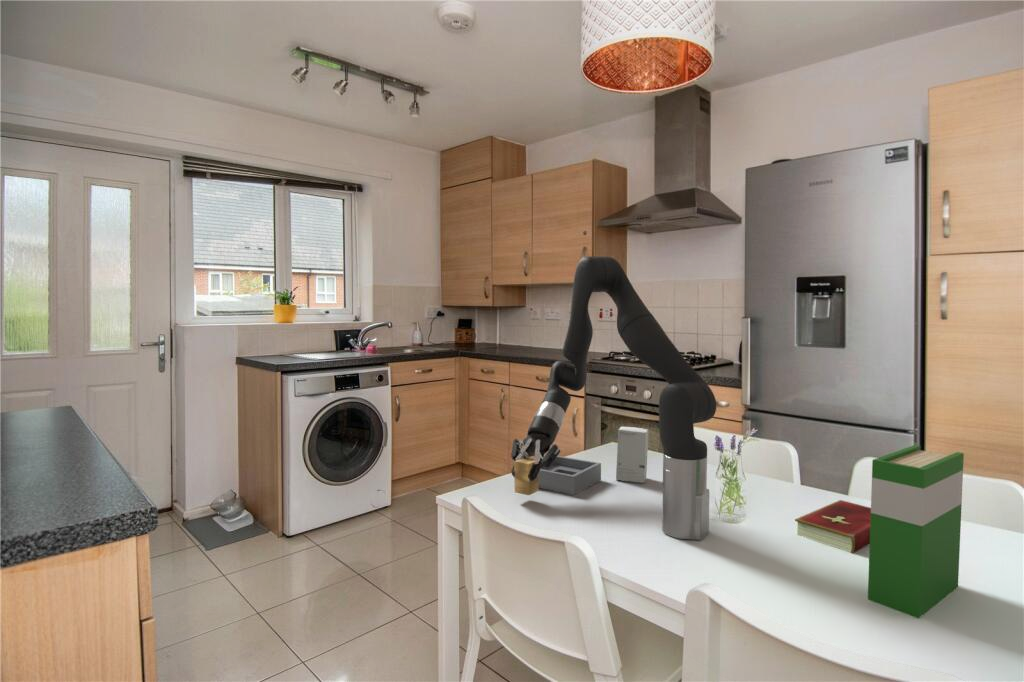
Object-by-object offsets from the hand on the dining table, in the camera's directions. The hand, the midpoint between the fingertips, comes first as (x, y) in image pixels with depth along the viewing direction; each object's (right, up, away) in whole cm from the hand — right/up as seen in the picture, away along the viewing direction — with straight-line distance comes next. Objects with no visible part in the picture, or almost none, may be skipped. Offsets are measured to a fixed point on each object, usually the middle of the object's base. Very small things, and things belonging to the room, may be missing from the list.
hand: (522, 477), depth 144 cm
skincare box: (+32, -6, +20) cm, 38 cm away
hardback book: (+67, -9, -46) cm, 82 cm away
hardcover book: (+71, -8, -19) cm, 74 cm away
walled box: (+12, -6, +18) cm, 22 cm away
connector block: (+1, -4, +2) cm, 5 cm away
